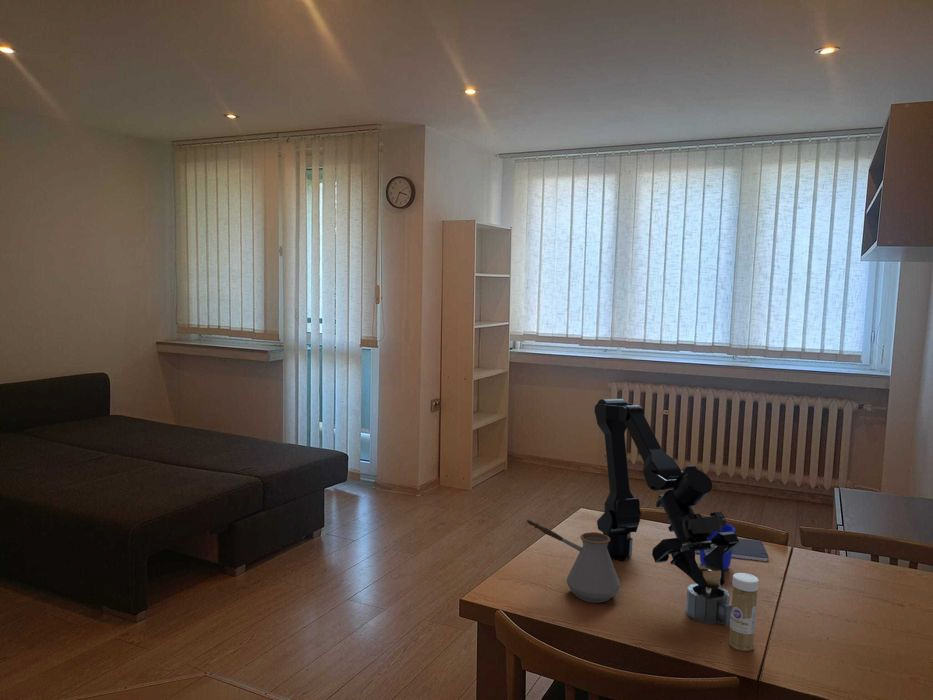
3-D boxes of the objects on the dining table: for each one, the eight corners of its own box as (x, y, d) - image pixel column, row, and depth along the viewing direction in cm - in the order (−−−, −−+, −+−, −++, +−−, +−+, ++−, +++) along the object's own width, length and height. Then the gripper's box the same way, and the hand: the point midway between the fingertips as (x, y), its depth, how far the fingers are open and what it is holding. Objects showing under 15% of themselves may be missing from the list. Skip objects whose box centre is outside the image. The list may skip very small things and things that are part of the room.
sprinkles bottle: (724, 646, 130) (729, 576, 129) (733, 637, 133) (737, 569, 132) (749, 655, 127) (754, 584, 126) (757, 646, 131) (762, 576, 129)
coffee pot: (620, 588, 155) (624, 522, 154) (618, 610, 144) (621, 539, 142) (526, 575, 160) (529, 511, 159) (517, 595, 149) (519, 527, 148)
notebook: (761, 546, 186) (678, 536, 191) (761, 540, 186) (678, 531, 191) (769, 563, 173) (680, 553, 179) (769, 557, 173) (680, 547, 179)
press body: (678, 608, 145) (679, 585, 145) (709, 603, 148) (710, 581, 148) (711, 631, 136) (713, 606, 135) (743, 625, 139) (745, 601, 138)
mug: (723, 555, 176) (725, 517, 176) (736, 574, 165) (739, 533, 164) (690, 553, 177) (692, 515, 176) (701, 572, 165) (703, 531, 164)
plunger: (691, 605, 144) (693, 566, 143) (708, 602, 146) (711, 564, 145) (705, 614, 140) (708, 574, 139) (723, 611, 141) (725, 572, 141)
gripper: (663, 501, 141) (696, 575, 132) (736, 494, 148) (772, 564, 139) (638, 526, 149) (668, 597, 140) (709, 519, 156) (741, 586, 147)
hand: (713, 586), depth 141 cm, fingers closed on plunger, 4 cm apart
